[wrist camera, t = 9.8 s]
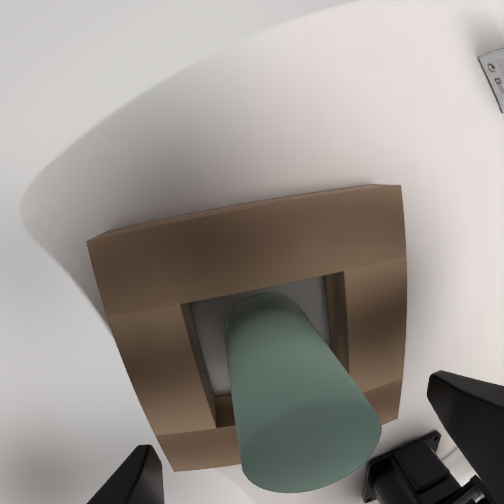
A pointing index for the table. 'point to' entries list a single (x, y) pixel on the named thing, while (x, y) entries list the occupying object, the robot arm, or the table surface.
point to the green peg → (293, 400)
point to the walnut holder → (247, 279)
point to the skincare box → (495, 73)
